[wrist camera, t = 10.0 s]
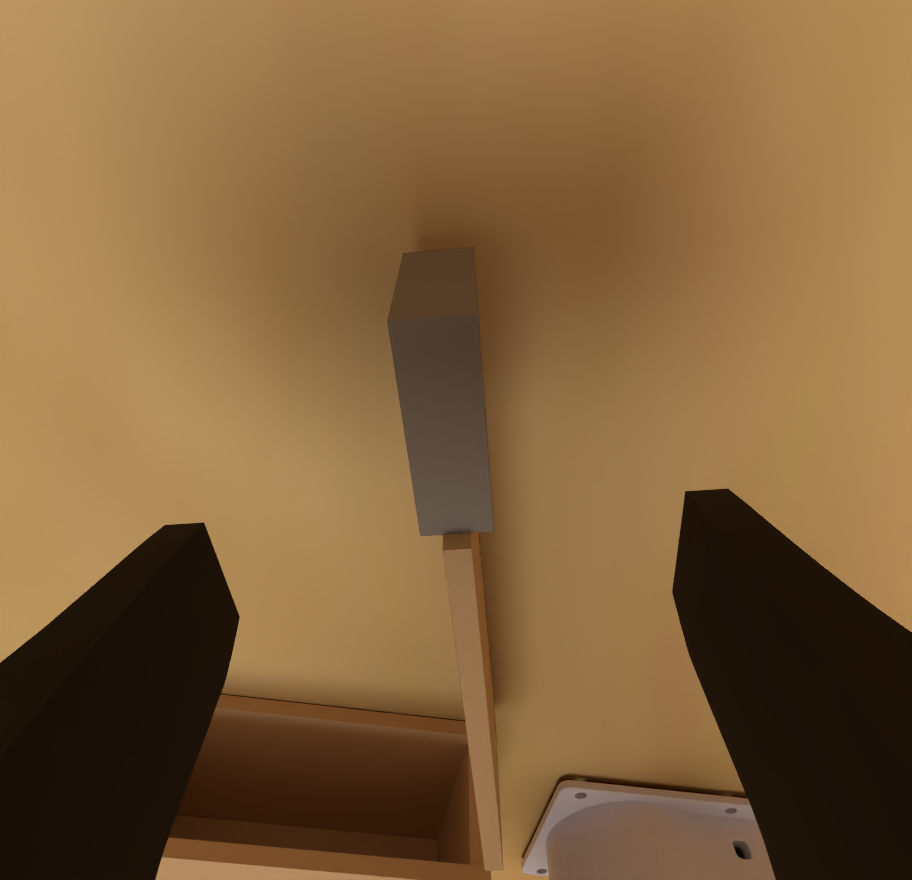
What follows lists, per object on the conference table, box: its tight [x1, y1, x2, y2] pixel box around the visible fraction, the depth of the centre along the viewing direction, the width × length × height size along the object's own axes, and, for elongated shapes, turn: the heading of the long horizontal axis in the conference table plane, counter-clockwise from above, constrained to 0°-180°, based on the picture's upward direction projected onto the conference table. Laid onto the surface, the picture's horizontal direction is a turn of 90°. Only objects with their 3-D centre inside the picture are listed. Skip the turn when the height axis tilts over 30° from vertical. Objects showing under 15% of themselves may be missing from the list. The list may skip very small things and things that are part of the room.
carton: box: [156, 695, 491, 880], centre depth 26 cm, size 14×9×6 cm, turn 80°
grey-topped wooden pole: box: [387, 247, 503, 871], centre depth 18 cm, size 19×2×6 cm, turn 5°
